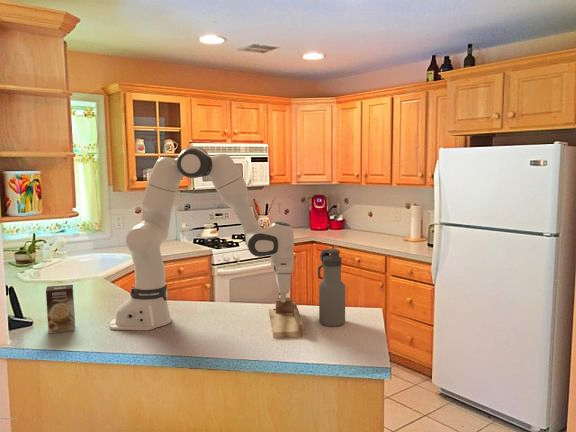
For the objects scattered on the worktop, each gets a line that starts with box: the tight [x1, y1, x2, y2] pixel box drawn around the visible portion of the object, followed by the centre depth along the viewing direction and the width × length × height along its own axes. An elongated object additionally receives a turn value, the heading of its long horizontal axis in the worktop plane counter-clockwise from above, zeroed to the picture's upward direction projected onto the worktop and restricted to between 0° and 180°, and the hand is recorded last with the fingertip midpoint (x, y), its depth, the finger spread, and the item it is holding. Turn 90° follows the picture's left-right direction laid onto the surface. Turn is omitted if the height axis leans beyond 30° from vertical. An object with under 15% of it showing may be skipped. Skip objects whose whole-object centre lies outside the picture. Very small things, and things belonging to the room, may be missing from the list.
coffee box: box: [45, 284, 76, 334], centre depth 183 cm, size 9×6×16 cm
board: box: [268, 301, 304, 339], centre depth 186 cm, size 11×26×4 cm, turn 5°
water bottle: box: [317, 248, 346, 327], centre depth 186 cm, size 10×10×28 cm
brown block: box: [272, 297, 293, 314], centre depth 194 cm, size 7×4×5 cm, turn 95°
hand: (281, 298), depth 194 cm, fingers open, 8 cm apart
